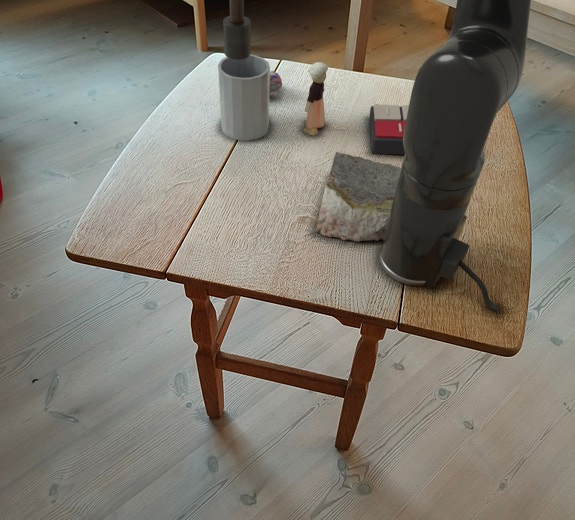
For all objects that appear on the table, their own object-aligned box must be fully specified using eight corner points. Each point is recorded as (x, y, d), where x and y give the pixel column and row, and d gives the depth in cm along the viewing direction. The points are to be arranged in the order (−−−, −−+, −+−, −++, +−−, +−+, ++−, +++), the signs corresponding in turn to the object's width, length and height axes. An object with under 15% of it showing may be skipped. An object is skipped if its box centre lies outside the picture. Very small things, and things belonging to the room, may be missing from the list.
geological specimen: (402, 161, 87) (393, 219, 77) (394, 192, 92) (384, 251, 81) (336, 148, 89) (318, 203, 78) (331, 178, 93) (313, 235, 82)
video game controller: (232, 106, 108) (234, 86, 101) (228, 86, 109) (230, 64, 103) (281, 101, 110) (286, 81, 103) (276, 82, 111) (281, 60, 105)
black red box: (370, 101, 102) (452, 103, 101) (368, 121, 105) (448, 123, 104) (373, 136, 94) (462, 138, 93) (371, 156, 97) (456, 158, 97)
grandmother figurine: (321, 140, 99) (327, 75, 90) (300, 136, 99) (304, 72, 90) (327, 117, 104) (334, 53, 95) (307, 114, 105) (312, 50, 95)
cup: (277, 124, 102) (279, 64, 93) (249, 146, 97) (248, 84, 88) (241, 108, 105) (239, 48, 96) (211, 129, 100) (207, 67, 91)
